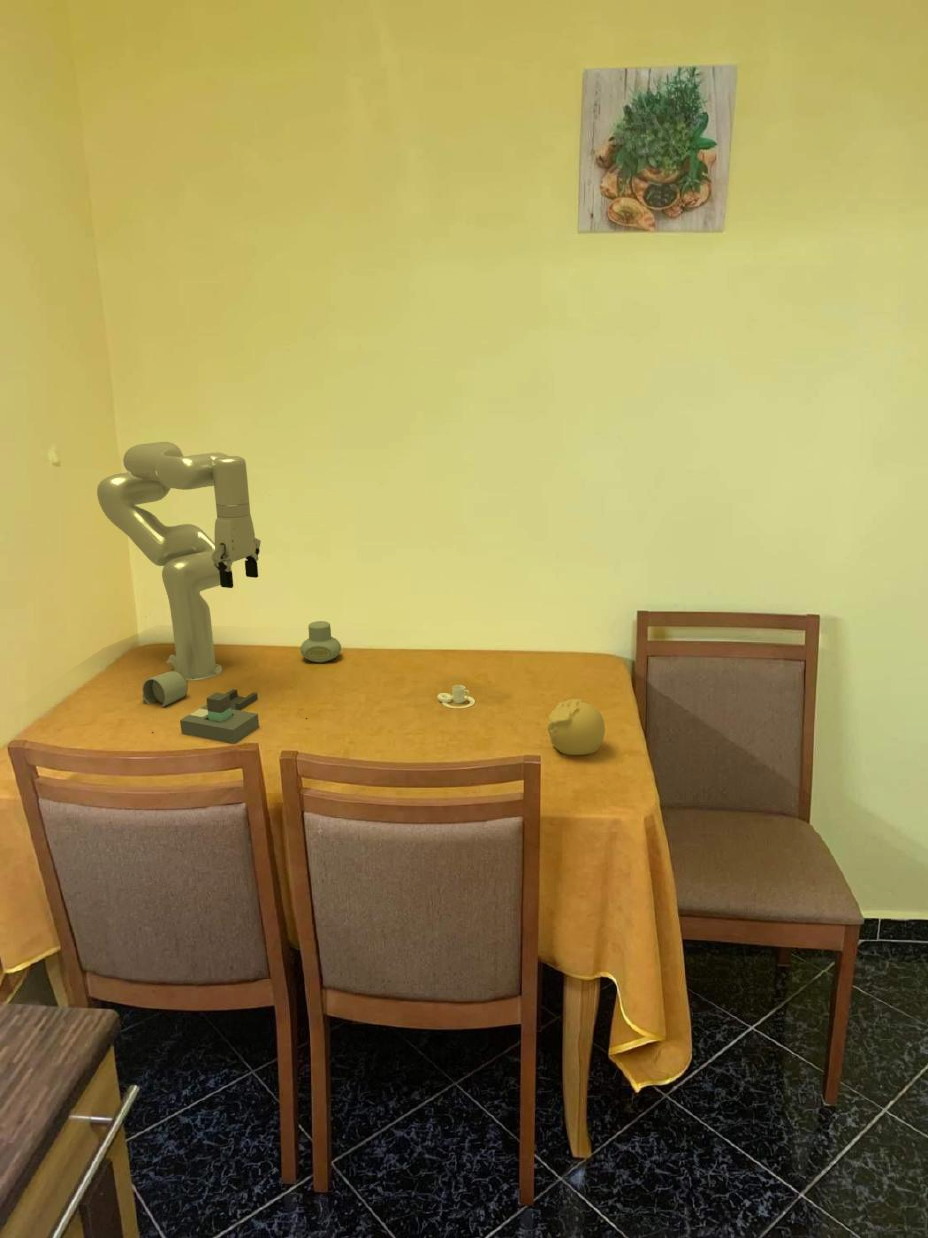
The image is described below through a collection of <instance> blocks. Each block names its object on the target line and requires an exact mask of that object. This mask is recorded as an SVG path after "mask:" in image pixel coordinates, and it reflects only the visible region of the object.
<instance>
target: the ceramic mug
mask: <svg viewBox="0 0 928 1238" xmlns="http://www.w3.org/2000/svg"><path fill="white" fill-rule="evenodd" d="M188 686H189V685H188V682H187V681H186V679H185V678H184V676H183V675H182V674H181V673H179V672H175V671H174V670H173V671H167V672H164V673H162V674H159V675H156V676H155V675H154V676H152V677H149V678H147V679H146V680H145V681H144V682H143V684H142V689H141V690H142V694H141V697H142V699H143V701H145V702H146V704H147V705H151V704H154V703H156V702H157V701H158V702H159V703H161V704H162V706H160V708H165V707H167V706H169V705H171V704H173V703H175V702H177V701H180V700H181V699H183V698H184V697H185V696H186V695H187V694H188V693H187V692H188V690H189V689H188V688H189V687H188Z"/></svg>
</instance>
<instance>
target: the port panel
mask: <svg viewBox="0 0 928 1238" xmlns="http://www.w3.org/2000/svg"><path fill="white" fill-rule="evenodd" d="M231 713H232V716H231V717H230V718H228V719H226V720H225V721H223V722H222V723H220V722H215V721H210V720H209V718H208V709H207V704H205V705H203V706H202V707H200V708H198V709H197V710H195V711H193V712H191V713H190V714H188V715H186V716H185V717H183V718H181V719H179V724H180V730H181V734H182V735H186V736H192V737H197V738H203V739H208V740H213V741H217V742H222V743H224V742H225V743H229V744H234V745H235V744H237V743H238V742H239V741H241V740H242V739H244V738H245V737H247V736H248V735H250V734H251V733H253V732H254V731H256V730H257V729H259V728H260V723H259V714H258V713H255V712H250V711H244V710H234V709H231Z"/></svg>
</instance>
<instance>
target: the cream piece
mask: <svg viewBox="0 0 928 1238" xmlns="http://www.w3.org/2000/svg"><path fill="white" fill-rule="evenodd" d="M451 692H452V693H451V694H450V693H447V692H440V693H439V694H438V695H437V700H438V701H439V702H440V703H441V704H442V705H443V706H444V707H446V708H450V709H466V708H470V707H472V706H474V705H475V703H476V700H475V699H474V697H471V696H470V691H469V690H468V689H466V687H465V686H464V685H461V684H456V685H453V686H451ZM466 692H467V695H466ZM467 700H469V703H468V704H466V705H463V706H462V705H461V706H454V705H450V704H448V703H451V702H452V701H453V702H454V703H455V704H459V705H460V704H463V703H464V702H465V701H467Z"/></svg>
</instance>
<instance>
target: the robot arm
mask: <svg viewBox="0 0 928 1238" xmlns="http://www.w3.org/2000/svg"><path fill="white" fill-rule="evenodd" d="M122 461H123V466H124V469H125V470H126V471H127V472H122V473H116V474H113V475H109V476H107V477H105V478H104V479H102V480H101V481H100V482H99V483H98V486H97V489H96V495H97V500H98V504H99V506H100V508H101V511H102V512H103V513H104V515H105V517H106V519H108V520H109V521H110V522H111V523H112V525H115V527H117V528H118V529H119V530H120V531H121V532H123V533H124V534H125V535H126V536H128V537H129V538H130V540H131V541H132V542H133V544H135V546H136V547H137V548H138V549H139V550H140V551H141V552H142V553H143V555H144V556H146V558H147V559H148V560H149V561H150V562H151V563H152V564H154V565H155V566H159V567H163V568H162V570H161V578H162V583H163V584H164V588H165V592H166V595H167V599H168V602H169V603H168V604H169V610H170V616H171V617H170V618H171V623H172V624H171V625H172V632H173V633H172V634H173V643H174V649H175V651H174V652H175V655H174V654H170V655H169V657H168V659H167V661H166V665H167V666H173V668H174V670H173V671H175V672H179V673H181V674H182V675H183V676H184V678H185V679H186V681H187V683H188V682H199V681H205V680H209V679H212V678H214V677H216V676H218V675H220V674H221V673H222V672H223V667H222V665H221V664H218V663H216V656H215V645H214V636H213V628H212V626H213V625H212V617H211V610H210V606H209V604H208V602H207V601H206V600H205V599H204V597H203V596H202V595H201V593H200V592H203V591H205V590H208V589H212V588H216V587H219V586H220V587H221V588H227V589H233V588H234V577H233V569H232V566H233V562H237V561H240V560H243V559H246V560H244V568H245V569H244V570H245V576H246V577H247V578H259V571H258V569H259V568H258V561H259V554H260V549H261V543H262V541H261V539H258V538H256V535H255V528H254V523H253V518H252V515H251V507H250V506H251V505H250V494H249V482H248V471H247V470H248V469H247V463H246V460H245V458H243V457H242V456H238V455H228V454H226V453H223V452H207V453H200V454H191V455H186V456H185V455H183V451H182V450H181V449H180V447H179V446H178V445H176V444H175V443H174V442H170V441H160V442H159V441H158V442H157V441H156V442H149V443H142V444H136V445H133V446H131V447H130V448H129V449H127V450H126V451H125V453H124V454H123V459H122ZM207 487H213V488H214V490H213V491H214V499H215V507H216V508H215V509H216V519H215V522H214V541H213V539H212V538H210V537H209V535H208V534H207V533H206V532H205V531H203V529H201V528H200V527H199V526H196V525H195V524H191V523H185V524H178V525H171V526H167V525H165V524H163V523H162V522H161V521H160V520H159V519H158V517H157V516H156V515H154V514H153V513H152V512H150V511H148V510H146V509H144V508H142V507H140V506H138V505H143V504H148V503H155V502H158V501H161V500H163V499H164V498H165V497H167V495H168V494H169V492H170V491H171V489H175V490H183V491H184V490H185V491H186V490H195V489H200V488H207Z"/></svg>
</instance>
